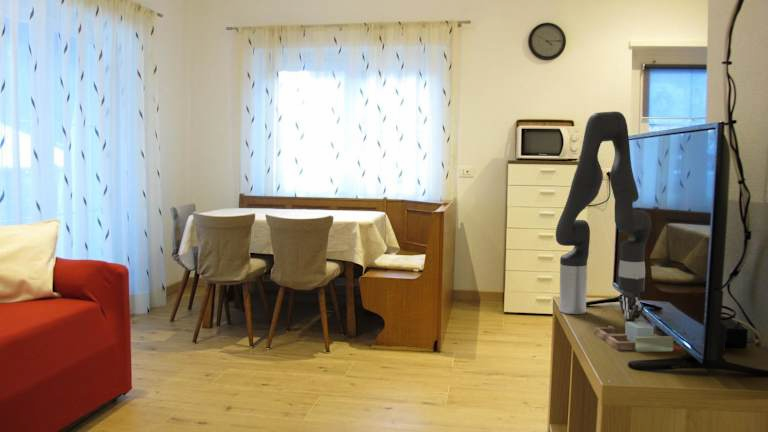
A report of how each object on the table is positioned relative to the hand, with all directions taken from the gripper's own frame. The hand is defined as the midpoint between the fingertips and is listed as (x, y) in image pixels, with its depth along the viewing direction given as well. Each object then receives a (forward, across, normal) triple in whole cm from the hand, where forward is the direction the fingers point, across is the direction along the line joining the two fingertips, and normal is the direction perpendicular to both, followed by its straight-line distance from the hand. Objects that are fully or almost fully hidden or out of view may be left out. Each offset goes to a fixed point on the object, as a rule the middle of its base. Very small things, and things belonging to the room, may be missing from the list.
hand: (629, 330), depth 184 cm
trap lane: (+2, +6, -3) cm, 7 cm away
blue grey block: (+2, +6, 0) cm, 6 cm away
